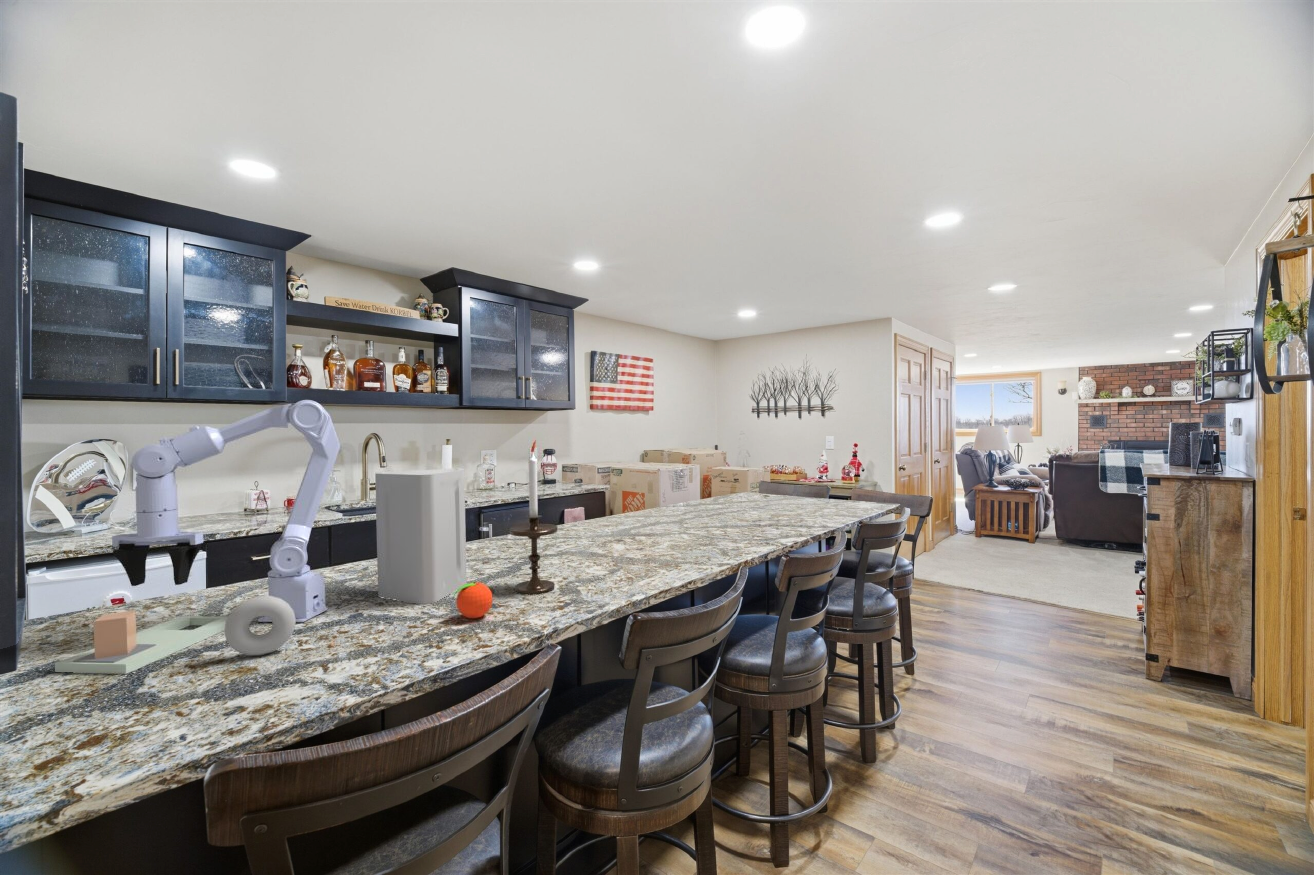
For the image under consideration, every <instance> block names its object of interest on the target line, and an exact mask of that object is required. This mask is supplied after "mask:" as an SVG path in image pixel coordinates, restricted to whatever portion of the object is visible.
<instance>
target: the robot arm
mask: <svg viewBox="0 0 1314 875" xmlns="http://www.w3.org/2000/svg"><path fill="white" fill-rule="evenodd" d="M330 415H331V414H329V413H328V412H327V410H326V409H325V408H324V406H323V405H321V404H320V403H318V402H317V401H314V400H311V399H303V400H299V401H297V402H296V403H294V404H292V403H289V404H283V405H279V406H274V407H271V408H267V409H265V410H262V411H260V412H258V413H255V414H253V415H250V416H248V417H244V418H243V419H240V420H238V421H235V422H233V423H229V424H227V425H224V426H222V427H220V428H214V427H212V426H208V425H204V426H202V427H199V425H194V426H191V427H188V428H189V431H186V432H185V433H182V434H178V435H177V436H174V437H171V438H167V437H163V438H160V439H159V440H158V441H159V443H160V444H147V445H145V446H144V447H142V448H140V449H138V450H137V451H136V452H135V453H134V454H133V456H132V459H131V465H132V466H131V467H132V468H133V470H134V471H135V472H136V476H135V482H136V486H135V510H136V511H135V512H136V513H135V514H136V515H135V518H136V533H125V534H124V533H121V534H116V535H112V536H111V541H112V542H111V543H112V544H111V545H112V547H113V548H115V547H117V549H113V550H112V555H113V556H114V557H115V558H116V559H117V560H118V562H119V563H120V564H121V565H122V567H123V569H124V571H125V573H126V575H127V578H128V580H129V583H130V585H131V587H136V586H139V585H143V584H145V582H146V577H147V576H146V575H147V574H146V572H147V571H146V569H147V568H146V564H147V563H146V562H147V559H148V558H147V557H148V554H149V550H150V547H151V546H165V545H166V546H169V545H171V546H170V547H167V549H166V550H167V553H168V554H169V557H170V560H171V561H170V562H171V564H172V571H173V581H174V585H175V586H180V585H183V584H185V583H188V582H189V581H188V580H189V576H190V572H191V570H192V566H193V564H194V562H195V559H196V557H197V555H198V554H199V552H200V551H201V549H202V548H203V543H204V532H195V531H194V532H193V531H180V530H179V510H178V509H179V508H178V485H177V483H176V471H175V470H176V469H177V468H178V467H182V468H186V467H188V466H191V465H193V464H196V463H198V462H202V461H203V460H207V459H209V458H211V457H214V456H217V455H220V454H222V453H223V451H224V449H225V446H226V444H229V443H231V442H233V441H237V440H239V439H242V438H244V437H248V436H250V435H254V434H257V433H258V432H262V431H264V430H267V429H270V428H277V429H278V428H286V429H287V428H288V427H289V425H288V423H290V424H291V426H293V428H294V429H296V430H297V432H300V433H301V434H302V435H304V437H305V440H307V442H308V443H309V445H310V446H311V448H312V452H311V454H310V458H309V460H308V463H307V465H306V469H305V472H304V474H303V477H302V480H301V482H300V486H299V488H298V490H297V494H296V497H295V499H294V502H293V505H292V508H291V510H290V513H289V516H288V519H287V521H286V524H285V526H284V528H283V530H282V531H283V532H282V534H281V535H280V537H279V539H278V540H277V541H275V542H274V543H273V544H272V545H271V548H270V556H269V566H270V568H271V569H270V570H269V571H268V572H267V587H268V590H267V595H268V596H273V597H277V598H280V599H282V600H284V601H285V602H287V603H288V604H289V605H290V607H291V608H292V609H293V611H294V614H295V619H296V623H303V622H305V621H308V620H310V619H312V618H315V617H316V616H317V615H319V614H322V613H323V612H326V611H328V610H329V607H328V606H326V582H325V579H324V576H323V575H322V574H321V573H319V572H313V571H311V567H310V565H308V563H307V562H308V552H307V547H308V544H309V540H310V536H311V531H312V528H313V525H314V523H315V520H316V517H317V514H318V512H319V508H320V505H321V503H322V501H323V498H324V494H325V491H326V488H327V485H328V483H329V480H330V477H331V474H332V471H333V468H334V466H335V462H336V460H337V457H338V454H339V452H340V448H341V445H340V441H339V438H338V435H337V433H336V429H335V427H334V424H333V420H332V417H331V416H330ZM173 545H175V546H173ZM257 622H260V623H261V622H262V623H263V622H264V623H272V621H271V619H270V618H268V617H265V616H261V617H259V618H258V619H257Z"/></svg>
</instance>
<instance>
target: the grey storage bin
mask: <svg viewBox="0 0 1314 875" xmlns="http://www.w3.org/2000/svg"><path fill="white" fill-rule="evenodd" d="M374 477H375V479H374V480H375V514H376V520H375V521H376V523H375V524H376V558H377V560H376V561H377V566H376V567H377V594H378V595H377V596H380V597H384V598H390V599H396V600H399V601H398V602H401V601H404V602H403V603H407V602H410V603H409V604H413V603H416V604H415V605H419V604H423V605H429V604H428V603H431V604H435V603H434V602H436V603H437V601H438V602H440V601H441V600H440V599H442V598H443V599H445V598H447V597H449V596H450V595H449V594H451V593H453V592H454V591H456V590H458V589H459V588H460V587H462V586H464V585H466V584H468V583H467V579H468V578H467V545H466V544H467V542H466V540H467V539H466V538H467V536H466V534H467V533H466V530H467V529H466V494H465V493H466V490H465V487H466V486H465V484H466V483H465V482H466V481H465V468H460V467H459V468H440V469H439V468H437V469H435V468H434V469H417V470H416V469H415V470H395V471H394V470H392V471H389V470H388V471H375V476H374ZM453 594H454V593H453ZM448 595H449V596H448ZM451 595H452V594H451ZM446 596H447V597H446ZM444 597H445V598H444ZM443 599H442V600H443ZM439 600H440V601H439Z"/></svg>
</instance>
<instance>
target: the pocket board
mask: <svg viewBox="0 0 1314 875" xmlns="http://www.w3.org/2000/svg"><path fill="white" fill-rule="evenodd" d="M228 617H229V616H197V615H196V616H193V615H192V616H189V615H188V616H186V615H184V616H183V615H181V616H177V617H174V618H171V619H169V620H167V621H164V622H161V623H159V624H156V625H153V626H151V627H147V628H145V629H143V630H140V631H136V641H137V646H136V647H135V648H134V649H132V650H131V651H130V652H129V653H128V654H124V655H117V656H111V657H104V658H97V659H95V649H94V648H92V649H89V650H87V651H84V652H81V653H79V654H75V655H73V656H71V657H67V658H66V659H62V660H60V661H57V662H54V673H55V672H73V673H72V674H110V675H112V674H113V675H114V674H116V675H117V674H120V675H122V674H123V675H124V674H125V675H127V674H129V673H131V672H134V671H136V670H138V669H140V668H143V667H145V666H147V665H150V664H151V663H153V662H157V661H158V660H159V661H160V660H161V659H163V658H165V657H167V656H168V657H169V655H172V654H174V653H177V652H178V651H182V650H183V649H185V648H188V647H190V646H193V645H194V644H197V643H199V642H202V641H204V640H206V639H209V638H211V637H213V636H215V635H218V634H220V633H222V632H224V630H225V623H226V620H227V618H228ZM189 626H199V627H197V628H194V629H184V628H187V627H189Z"/></svg>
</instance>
